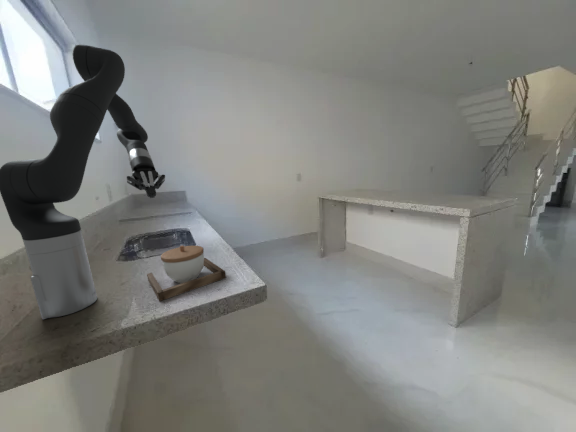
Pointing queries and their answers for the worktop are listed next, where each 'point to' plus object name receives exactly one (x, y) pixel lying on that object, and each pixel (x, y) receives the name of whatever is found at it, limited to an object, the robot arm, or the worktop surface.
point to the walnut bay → (187, 286)
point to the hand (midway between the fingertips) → (152, 196)
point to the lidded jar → (183, 263)
